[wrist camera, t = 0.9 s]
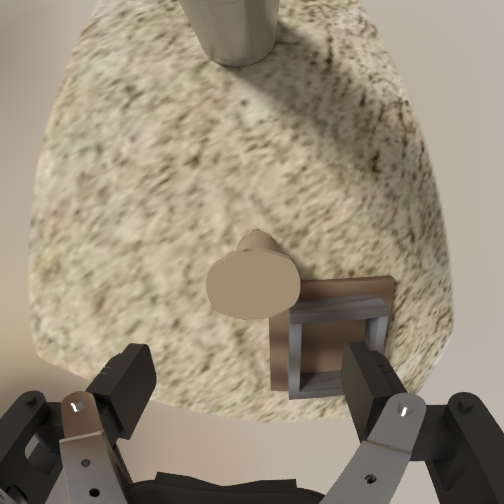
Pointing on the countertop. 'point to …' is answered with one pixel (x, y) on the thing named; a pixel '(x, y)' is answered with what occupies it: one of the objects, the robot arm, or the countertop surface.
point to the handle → (253, 280)
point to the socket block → (327, 332)
